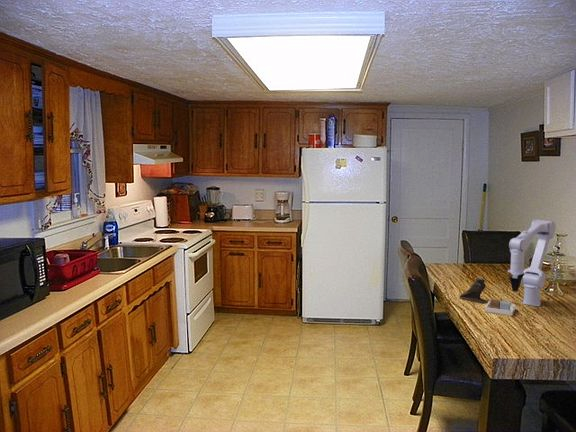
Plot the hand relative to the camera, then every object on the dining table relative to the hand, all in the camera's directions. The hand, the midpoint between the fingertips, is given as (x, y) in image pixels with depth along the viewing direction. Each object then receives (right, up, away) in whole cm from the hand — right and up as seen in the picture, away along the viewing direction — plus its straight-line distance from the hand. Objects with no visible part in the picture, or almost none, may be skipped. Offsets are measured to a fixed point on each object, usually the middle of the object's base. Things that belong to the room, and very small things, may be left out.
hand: (515, 289), depth 219 cm
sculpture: (-14, -9, +17) cm, 24 cm away
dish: (-8, -11, -1) cm, 13 cm away
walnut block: (-10, -10, +1) cm, 14 cm away
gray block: (-6, -10, -2) cm, 12 cm away
